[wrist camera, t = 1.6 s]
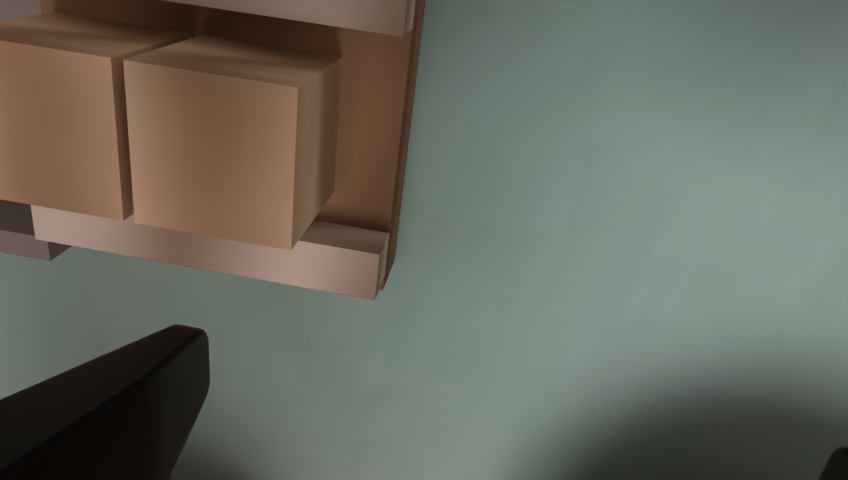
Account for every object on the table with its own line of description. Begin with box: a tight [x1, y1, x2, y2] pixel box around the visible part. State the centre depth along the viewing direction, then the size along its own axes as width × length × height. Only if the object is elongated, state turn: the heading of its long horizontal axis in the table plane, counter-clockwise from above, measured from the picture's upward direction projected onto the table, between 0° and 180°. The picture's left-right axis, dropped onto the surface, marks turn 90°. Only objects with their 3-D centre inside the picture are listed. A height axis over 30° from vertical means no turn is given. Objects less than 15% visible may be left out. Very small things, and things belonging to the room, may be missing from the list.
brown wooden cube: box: [123, 35, 343, 250], centre depth 17 cm, size 4×4×4 cm
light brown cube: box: [0, 12, 191, 221], centre depth 18 cm, size 4×4×4 cm
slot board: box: [31, 0, 425, 300], centre depth 19 cm, size 10×10×4 cm
